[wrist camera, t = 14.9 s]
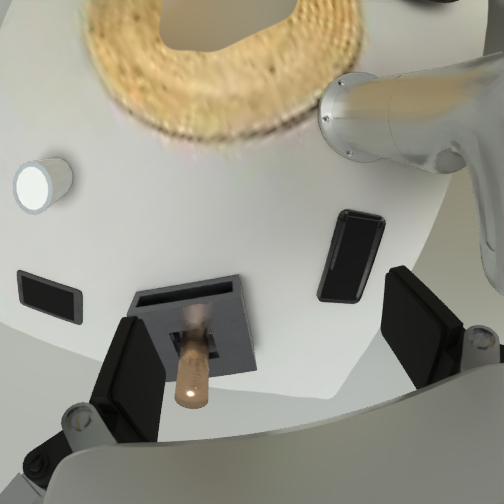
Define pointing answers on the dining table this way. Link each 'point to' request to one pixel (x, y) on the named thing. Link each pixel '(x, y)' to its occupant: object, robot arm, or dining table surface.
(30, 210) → the white cylinder
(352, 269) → the phone
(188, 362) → the brown long cylinder
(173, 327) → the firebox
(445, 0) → the glass bottle
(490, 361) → the robot arm
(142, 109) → the dining table surface
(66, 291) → the cell phone
